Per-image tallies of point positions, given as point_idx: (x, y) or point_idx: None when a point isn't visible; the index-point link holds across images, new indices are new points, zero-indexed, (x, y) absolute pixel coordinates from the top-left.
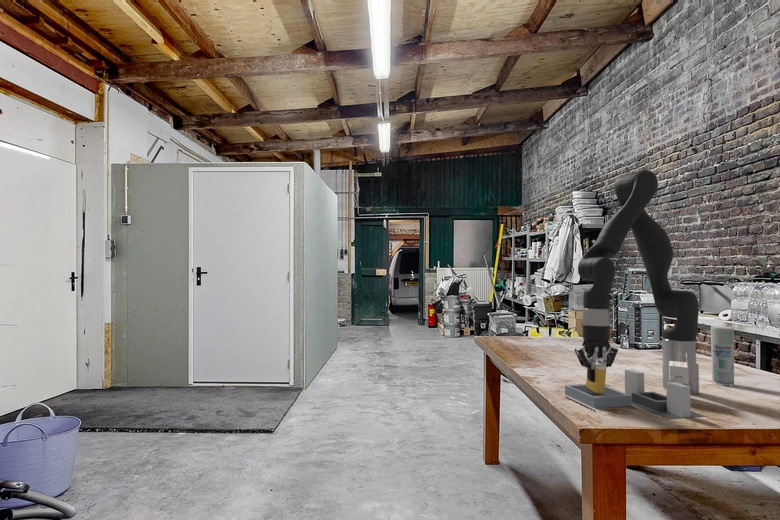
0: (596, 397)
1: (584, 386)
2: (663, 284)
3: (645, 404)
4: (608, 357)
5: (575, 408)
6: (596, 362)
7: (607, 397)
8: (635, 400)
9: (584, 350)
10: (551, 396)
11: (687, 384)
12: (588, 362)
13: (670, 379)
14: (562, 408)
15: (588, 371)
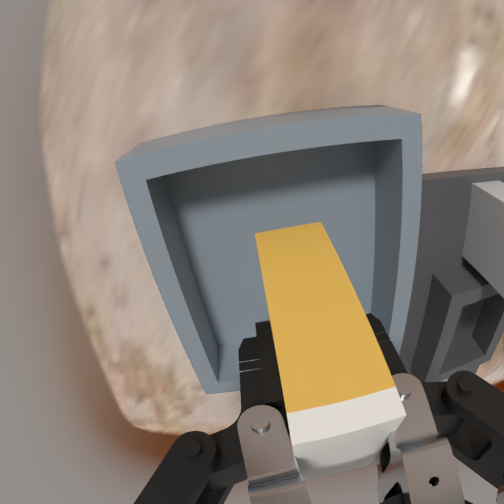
0: (221, 389)
1: (281, 149)
2: None
3: (423, 337)
4: (484, 454)
5: (143, 316)
6: (368, 441)
7: None
8: (433, 296)
9: None
10: (72, 125)
11: None
12: (261, 467)
13: None
14: (92, 314)
15: (245, 400)
